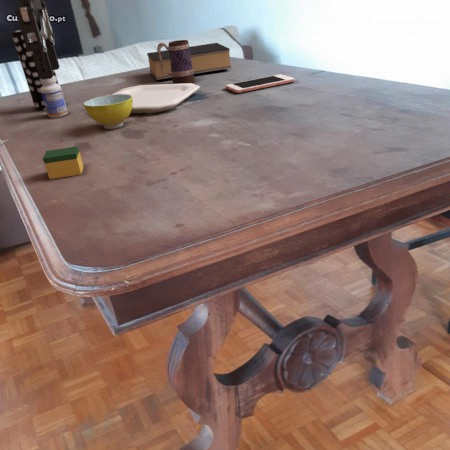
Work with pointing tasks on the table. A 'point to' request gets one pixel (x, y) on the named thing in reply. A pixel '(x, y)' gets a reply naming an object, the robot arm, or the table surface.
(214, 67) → the book
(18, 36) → the white-spotted black cylinder
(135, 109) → the plate
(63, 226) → the table surface
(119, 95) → the bowl
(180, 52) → the mug
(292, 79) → the cell phone
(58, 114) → the pill bottle
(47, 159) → the sponge
